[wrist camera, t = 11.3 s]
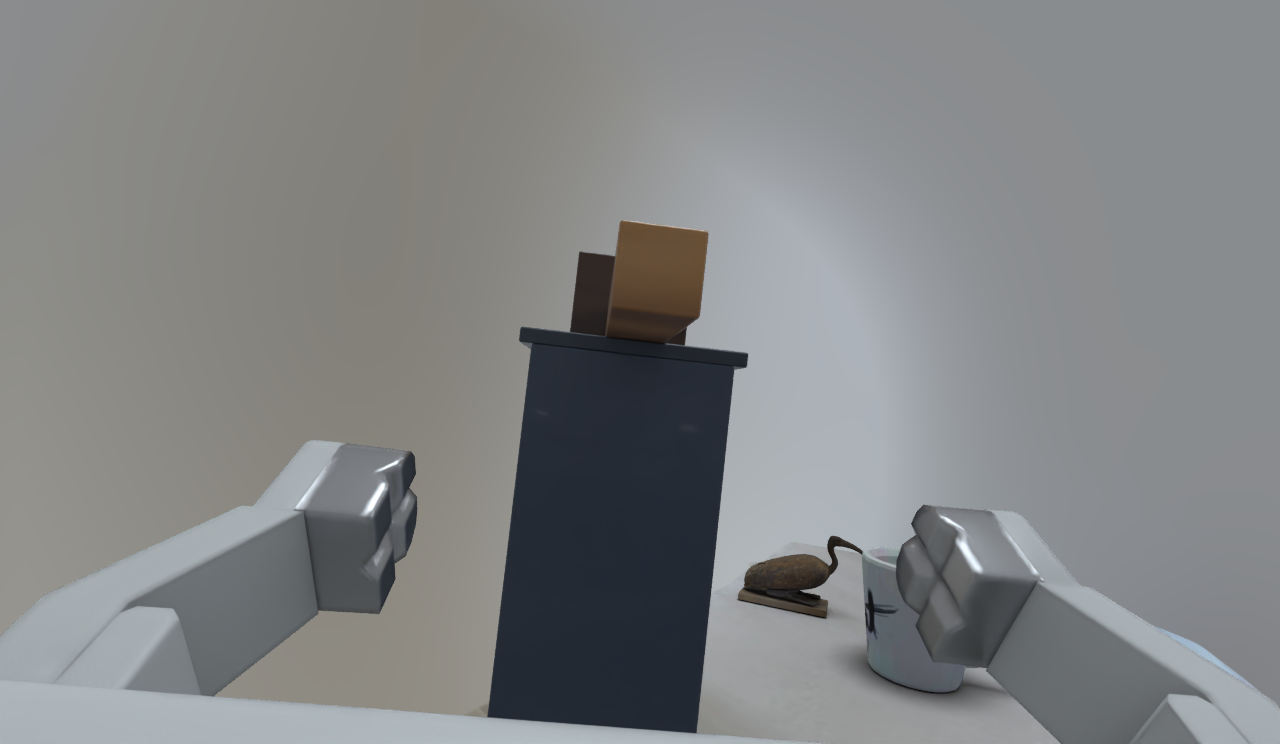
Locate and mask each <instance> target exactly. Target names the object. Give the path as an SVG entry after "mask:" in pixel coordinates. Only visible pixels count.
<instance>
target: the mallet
mask: <svg viewBox="0 0 1280 744" xmlns="http://www.w3.org/2000/svg"><path fill="white" fill-rule="evenodd" d="M707 244H708V232H707V231H705V230H698V229H690V228H682V227H675V226H666V225H659V224H652V223H644V222H636V221H628V220H622V221H621V222H620V225H619V232H618V240H617V247H616V254H615V256H614V255H606V254H598V253H590V252H582V251H580V252H579V259H578V268H577V277H576V286H575V294H574V302H573V311H572V320H571V328H570V332H573V333H581V334H590V335H598V336H607V337H615V338H624V339H632V340H641V341H650V342H658V343H667V344H675V345H684V346H685V339H686V329H687V326H688V325H690V324H691V323H693V322H694V321H695V320H697V319H698V318H699V316H700V309H701V300H702V289H703V281H704V272H705V271H704V270H705V262H706V253H707Z"/></svg>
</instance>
